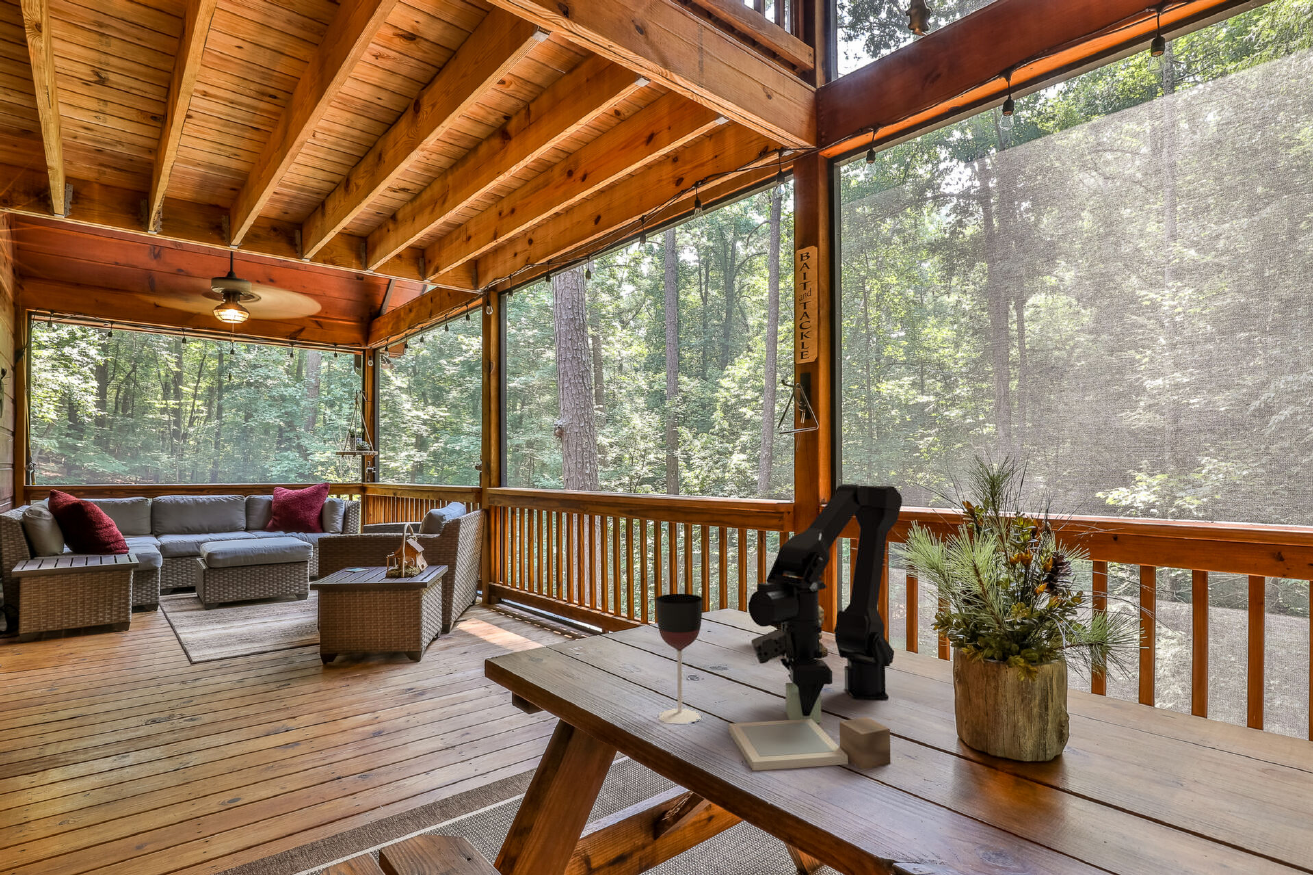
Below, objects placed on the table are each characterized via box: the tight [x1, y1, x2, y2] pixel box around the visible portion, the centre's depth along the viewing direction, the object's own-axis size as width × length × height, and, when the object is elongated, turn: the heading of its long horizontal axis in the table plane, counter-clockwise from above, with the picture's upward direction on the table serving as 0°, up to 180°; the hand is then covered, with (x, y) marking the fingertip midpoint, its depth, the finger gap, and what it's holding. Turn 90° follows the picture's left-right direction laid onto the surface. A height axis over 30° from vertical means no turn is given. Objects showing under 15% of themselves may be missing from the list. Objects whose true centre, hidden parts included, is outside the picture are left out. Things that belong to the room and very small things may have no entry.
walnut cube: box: [838, 716, 892, 771], centre depth 97 cm, size 5×5×5 cm
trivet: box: [728, 719, 849, 772], centre depth 101 cm, size 14×14×1 cm
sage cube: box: [785, 682, 822, 724], centre depth 113 cm, size 5×5×5 cm
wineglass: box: [655, 593, 703, 724], centre depth 114 cm, size 8×9×20 cm
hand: (803, 710), depth 113 cm, fingers closed on sage cube, 5 cm apart
